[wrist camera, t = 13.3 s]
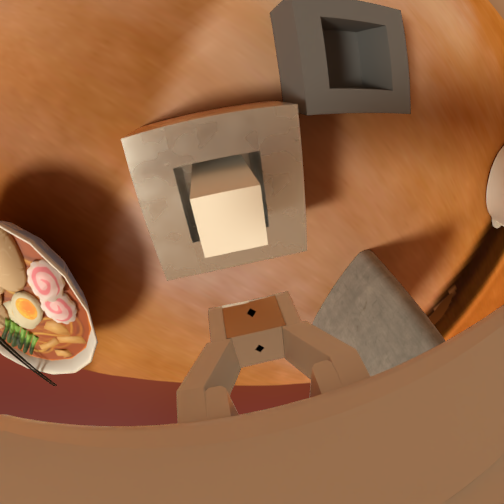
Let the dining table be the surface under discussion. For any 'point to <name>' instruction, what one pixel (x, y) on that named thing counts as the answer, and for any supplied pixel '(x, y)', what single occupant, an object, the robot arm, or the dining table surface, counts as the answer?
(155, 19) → the dining table surface
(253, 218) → the plug
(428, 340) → the hip flask
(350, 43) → the grey square socket block
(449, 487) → the robot arm
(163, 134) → the port box
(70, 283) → the ramen bowl
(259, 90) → the dining table surface
